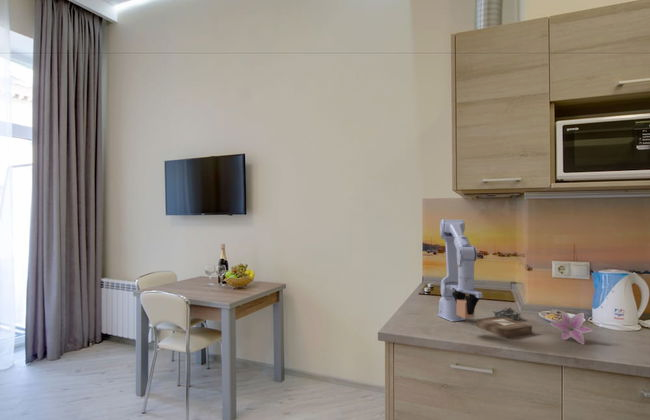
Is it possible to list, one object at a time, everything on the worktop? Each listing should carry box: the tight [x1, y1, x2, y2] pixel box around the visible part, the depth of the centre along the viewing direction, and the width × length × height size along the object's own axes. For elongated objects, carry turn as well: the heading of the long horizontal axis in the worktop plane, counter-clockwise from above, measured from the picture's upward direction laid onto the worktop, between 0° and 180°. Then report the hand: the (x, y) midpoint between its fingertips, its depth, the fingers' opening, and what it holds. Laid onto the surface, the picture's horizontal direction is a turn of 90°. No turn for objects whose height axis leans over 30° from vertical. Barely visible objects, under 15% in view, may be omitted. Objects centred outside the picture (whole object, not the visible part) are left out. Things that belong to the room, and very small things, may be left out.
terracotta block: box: [456, 299, 475, 319], centre depth 138 cm, size 5×5×6 cm
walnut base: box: [476, 316, 533, 339], centre depth 143 cm, size 14×14×3 cm
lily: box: [549, 311, 593, 345], centre depth 135 cm, size 12×12×10 cm
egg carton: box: [492, 306, 521, 321], centre depth 160 cm, size 11×8×4 cm
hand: (465, 312), depth 138 cm, fingers closed on terracotta block, 5 cm apart
